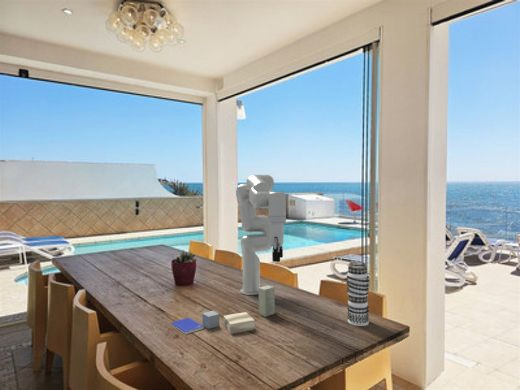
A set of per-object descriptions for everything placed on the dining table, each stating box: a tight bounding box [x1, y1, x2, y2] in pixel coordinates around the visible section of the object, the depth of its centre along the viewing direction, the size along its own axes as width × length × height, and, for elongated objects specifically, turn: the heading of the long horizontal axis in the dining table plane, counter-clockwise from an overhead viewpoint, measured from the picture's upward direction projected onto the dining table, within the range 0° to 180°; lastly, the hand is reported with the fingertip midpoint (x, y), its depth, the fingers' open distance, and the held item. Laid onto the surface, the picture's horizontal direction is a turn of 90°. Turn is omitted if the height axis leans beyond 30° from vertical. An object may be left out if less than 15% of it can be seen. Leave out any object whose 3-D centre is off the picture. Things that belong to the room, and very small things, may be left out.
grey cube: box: [202, 310, 220, 330], centre depth 130 cm, size 5×5×5 cm
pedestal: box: [222, 311, 256, 335], centre depth 129 cm, size 10×10×4 cm
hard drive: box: [171, 317, 205, 335], centre depth 130 cm, size 2×8×12 cm
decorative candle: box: [346, 260, 370, 327], centre depth 132 cm, size 9×9×25 cm
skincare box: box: [258, 284, 276, 318], centre depth 142 cm, size 6×4×12 cm
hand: (277, 259), depth 138 cm, fingers open, 9 cm apart
